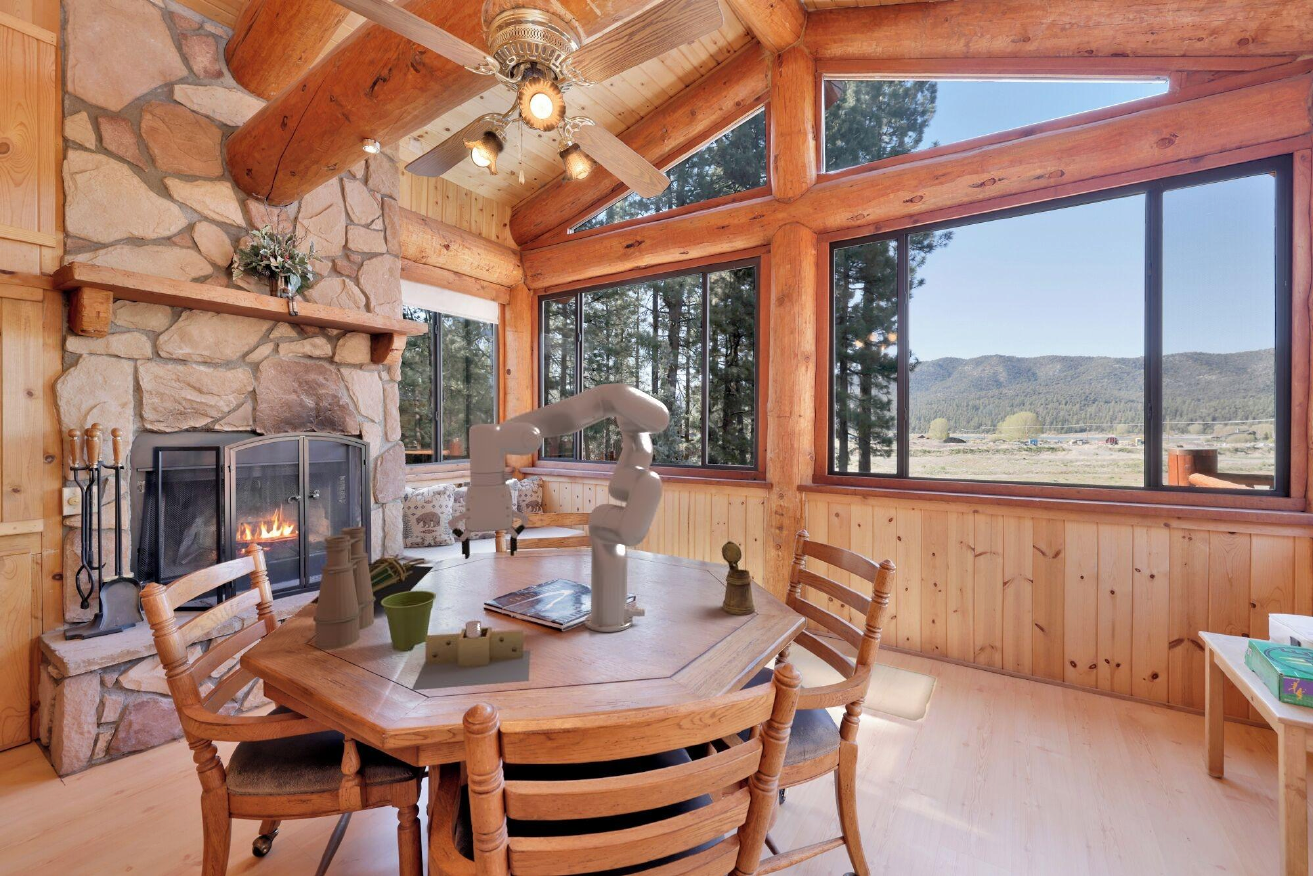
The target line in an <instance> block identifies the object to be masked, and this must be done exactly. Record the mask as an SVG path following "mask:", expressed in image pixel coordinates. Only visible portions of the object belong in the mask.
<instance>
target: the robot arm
mask: <svg viewBox="0 0 1313 876" xmlns="http://www.w3.org/2000/svg"><path fill="white" fill-rule="evenodd" d="M613 417H614V418H616V424H617V425H618V428H619V430H620V434H621V436H622V441H623V443H622V444H623V445H622V450H621V452H620V455H619V458H618V460H617V463H616V466H615V468H614V470H613V473H612V474H611V478H610V479H609V482H608V487H607V489H608V490H607V491H608V494H609V495H610V497H611V498H612V499H614V500H615V501H618V502H622V503H625V504H624V505H625V506H623V505H617V504H612V503H602V504H599V505H597V506H595V507H594V509H592V510H591V512H590V513H589V517H588V521H587V527H588V528H587V529H588V535H589V541H590V550H591V551H590V552H591V554H590V555H591V558H590V560H591V563H590V564H591V567H590V568H591V570H590V571H591V573H590V578H591V579H590V582H591V583H590V584H591V585H590V614H589V615H587V616H586V617H585V618H584V626H585V627H586V628H587V629H590V630H593V631H596V632H602V633H614V632H620V631H623V630H626V629H628V628H630V627H631V626H632V625H633V621H634V620H633V618H634V617H639V618H641V617H645V616H646V615H645V614H646V611H645V608H639V607H638V606H633V607H630V606H629V604H628V551H627V547H630V548H631V547H633V548H634V547H636V546H638V545H640V544H641V543H642V542H643V541H644V539H646V536H648V533H649V530H650V529H651V526H652V524H653V521H654V518H655V515H656V512H657V510H658V508H659V505H660V502H661V500H662V496H663V481H662V478H661V477H660V476H659V474H658V473H657V472H655V471H653V470H651V469H650V466H651V463H652V460H653V456H654V447H653V442H652V439H651V437H650V434H651V435H652V434H653V435H654V434H659V433H661V432H664V431H665V430H666V429H667V427H668V426H669V423H670V417H671V416H670V412H669V410H668V408H667V406H666V405H665V404H664V403H663V402H661V401H660V400H659V399H656V398H654V397H652V396H651V395H649V394H647V393H646V392H644V391H642V390H641V389H638V388H636V387H634V386H632V385H630V384H627V383H623V382H618V383H617V382H616V383H603V384H599V385H596V386H594V387H591V388H589V389H586V390H584V391H582V392H578V393H577V394H575V395H572V396H570V397H567V398H564V399H562V400H559V401H556V402H553V403H551V404H547V405H544V406H542V407H539V408H535V409H532V410H530V411H527V412H524V413H521V414H519V415H517V416H513V417H511V418H510V419H506V420H504V421H503V422H500V423H498V424H497V423H484V424H481V423H479V424H474V425H472V426H471V427H470V428H469V431H468V433H469V434H468V435H469V437H468V438H469V440H468V441H469V470H470V471H469V476H470V478H469V479H470V482H469V483H470V485H468V486H467V487H466V493H465V494H466V495H465V502H464V503H465V505H464V512H462V513H460V514H459V515H456V516H454V517H452V518H450V519H449V520H448V521H447V524H448V527H449V528H450V530H451V531H452V534H453V535H454V536H455V537H457V538H458V539H459V540H460V541H461V555H464V559H465V560H468V559H470V555H471V550H470V549H471V547H470V545H471V544H470V542H471V541H470V538H469V536H470V535H471V533H483V532H498V531H501V532H502V531H507V533H508V534H509V535H510V538H509V548H510V549H509V551H510V553H509V554H510V556H511V557H514V555H515V552H517V551H518V536H519V535H521V533H522V532H523V531H524V530H525V529H526V526H527V524H528V523H529V521H530V517H529V515H527V514H524V513H522V512H520V511H518V510H515V509H513V497H512V491H511V486H510V484H507V482H508V481H511V480H513V473H509V472H506V471H507V470H506V469H507V468H506V467H507V466H506V455H511V456H513V455H514V456H522V457H523V456H530V455H532V454H535V452H536V453H537V451H538V450H539V449H540V448H541V446H542V444H543V439H545V438H549V437H550V438H551V437H557V436H558V437H559V436H565V435H570V434H574V433H577V432H580V431H581V430H583V429H586V428H587V427H590V426H592V425H595V424H597V423H599V422H601V421H602V420H605V419H607V418H613ZM514 518H516V519H518V520H520V521H521V522H520V524H519V525H518V526H517V527H516V528H515V527H514V525H513V524H514ZM463 520H464V528H465V530H464V531H463V530H462V529H460V528H459V527H458V525H457V524H458V523H460V522H462V521H463Z"/></svg>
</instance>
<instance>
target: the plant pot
mask: <svg viewBox="0 0 1313 876" xmlns="http://www.w3.org/2000/svg"><path fill="white" fill-rule="evenodd" d="M436 598H437V595H436V593H435V592H432V591H428V590H411V591H408V592H402V593H398V594H394V595H391V596H388V597H386V598H384V599H383V600H382V601H381V605H382V606H384V607H383V609H384V613H385V616H386V620H387V623H388V629H389V635H390V639H391V645H392V648H393V649H394V650H396V651H399V652H405V651H407V650H412V651H413V650H414V649H415V647H416V646H417V645H420V644H422V643H426V635H429V634H428V632H429V626H430V619H431V614H432V613H431V612H432V609H433V605H434V601H435V599H436Z"/></svg>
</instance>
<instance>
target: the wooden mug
mask: <svg viewBox="0 0 1313 876" xmlns="http://www.w3.org/2000/svg"><path fill="white" fill-rule="evenodd" d="M721 553H722V559H723V560H724V561H726V562H727V563H728V568H729V570H728V572H727V574H726V576H725V577H726V578H725V582H726V586H725V593H724V600H722V601H723V602H722V609H723V611H724V612H726V613H728V614H731V615H732V614H733V615H738V616H744V615H746V616H747V615H750V614H752V613H755V604H754V603H753V602H754V601H753V592H752V586H751V585H752V583H751V582H752V577H751V575H750V571H749V570H748V569H740V568H739V565H738V564H739V562H740V560H741V559H742V557H743V556H742V550H741V548H740V547H739V546H738V545H737V544H736V543H735V542H733V541H731V540H729V541H727V542H726V543H725V544H724V545H723V546H722V548H721Z"/></svg>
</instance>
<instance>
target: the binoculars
mask: <svg viewBox="0 0 1313 876" xmlns="http://www.w3.org/2000/svg"><path fill="white" fill-rule="evenodd" d="M341 531H342V533H343V534H338V535H329V536H326V537H324V542H325V543H326V545H325V546H324V547H323V549H324V551H326V564H325V565H323V566H322V567H321V570H320V571H321V579H320V585H319V592H318V596H319V598H318V603H317V605H316V612H315V615H314V616H313V619H312V621H314V623H315V641H314V645H315V648H318V649H322V650H332V649H333V650H334V649H335V650H336V649H339V648H343V647H344V648H345V647H348V646H351V645H353V644H355V643H357V642H358V641H359V640H360V630H365V629H367V628H369V627H372V626H373V624H375V622H374V621H375V618H374V613H375V612H374V611H375V610H374V607H375V606H374V601H375V599H376V598H375V597H374V596H373V591H372V585H371V579H370V572H369V566H368V563H369V561H368V557H369V554H368V553H367V552H364V540H366V537H367V535H365V534H364V532H365V531H366V527H365V526H350V527H349V526H348V527H343V528H342V529H341Z"/></svg>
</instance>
